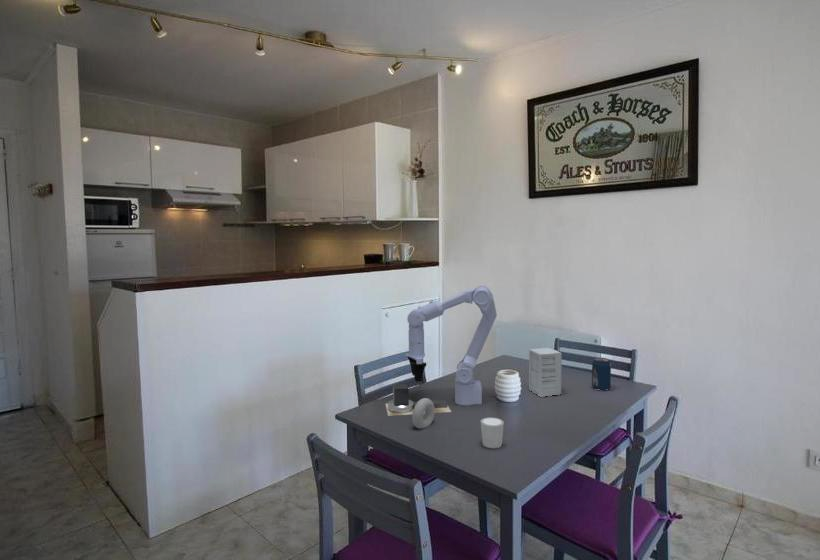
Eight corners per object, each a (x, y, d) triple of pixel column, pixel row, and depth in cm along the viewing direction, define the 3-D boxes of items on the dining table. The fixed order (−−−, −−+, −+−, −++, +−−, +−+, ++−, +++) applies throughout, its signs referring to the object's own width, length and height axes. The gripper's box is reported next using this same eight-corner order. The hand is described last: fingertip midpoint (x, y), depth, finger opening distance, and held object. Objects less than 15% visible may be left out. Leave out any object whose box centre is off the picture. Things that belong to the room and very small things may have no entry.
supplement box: (561, 395, 183) (562, 352, 181) (540, 397, 181) (540, 354, 179) (548, 387, 192) (549, 347, 191) (528, 390, 190) (528, 348, 188)
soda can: (611, 387, 192) (612, 358, 190) (608, 392, 186) (609, 362, 185) (593, 384, 195) (594, 356, 194) (589, 389, 190) (590, 360, 188)
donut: (419, 435, 148) (418, 404, 147) (410, 432, 151) (409, 402, 150) (437, 425, 156) (436, 395, 155) (428, 422, 158) (428, 393, 157)
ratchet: (444, 401, 175) (444, 389, 174) (449, 410, 166) (449, 397, 165) (387, 404, 172) (386, 392, 172) (389, 414, 163) (388, 401, 163)
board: (444, 403, 176) (444, 400, 176) (451, 415, 164) (451, 411, 164) (385, 406, 174) (385, 403, 173) (388, 419, 162) (388, 415, 162)
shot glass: (478, 439, 145) (478, 417, 144) (500, 438, 145) (500, 416, 145) (483, 449, 138) (483, 426, 137) (506, 448, 139) (506, 425, 138)
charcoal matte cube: (406, 400, 171) (406, 383, 170) (408, 405, 166) (408, 388, 165) (393, 401, 170) (392, 384, 170) (394, 405, 165) (394, 389, 165)
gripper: (403, 338, 181) (403, 373, 183) (408, 347, 167) (408, 384, 168) (421, 337, 182) (421, 372, 184) (427, 346, 168) (428, 383, 169)
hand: (416, 378), depth 176 cm, fingers open, 7 cm apart
